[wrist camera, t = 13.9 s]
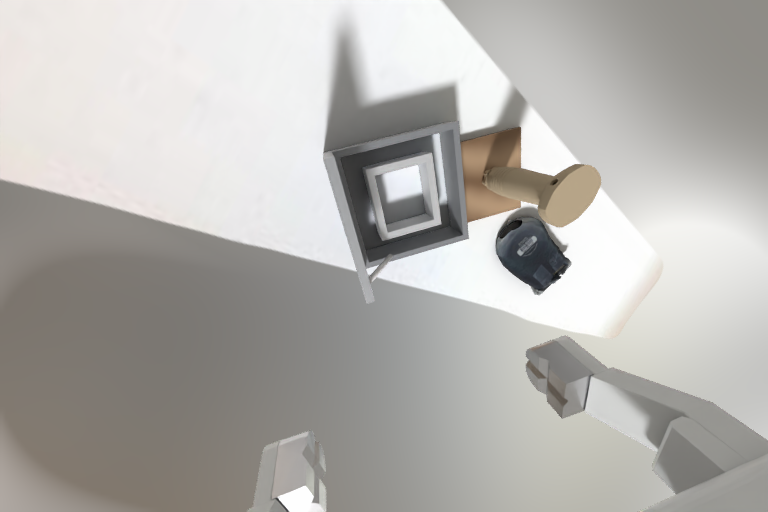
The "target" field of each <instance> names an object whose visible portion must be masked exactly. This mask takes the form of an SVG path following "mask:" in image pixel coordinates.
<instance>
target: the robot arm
mask: <svg viewBox="0 0 768 512" xmlns="http://www.w3.org/2000/svg"><path fill="white" fill-rule="evenodd" d="M526 357H527V358H528V359H529V361H528V362H527V364H526V372H527V375H528V377H529V379H530V381H531V383H532V384H533V385H534V387H535V388H536V389H537V390H538V391H540V392H542V393H544V394H546V397H547V402H548V403H549V404H550V405H551V407H552V408H553V409H554V410H555V411H556V412H557V414H559V416H560V417H561V418H565V417H568V416H571V415H574V414H576V413H579V412H582V411H585V413H587V414H589V415H591V416H593V417H594V418H596V419H598V420H600V421H602V422H604V423H605V424H607V425H609V426H611V427H612V428H614V429H616V430H618V431H620V432H621V433H623V434H625V435H627V436H629V437H630V438H632V439H634V440H636V441H638V442H639V443H641V444H643V445H645V446H646V447H648V448H650V449H652V450H654V451H655V452H657V454H656V457H655V459H654V461H653V463H652V469H653V471H654V472H655V474H656V475H658V477H659V478H660V479H661V480H662V481H663V482H664V483H665V484H666V485H667V486H668V487H669V488H670V489H671V490H672V491H673V492H674V493H675V494H676V495H674V496H672V497H670V498H667V499H665V500H663V501H661V502H659V503H657V504H654V505H652V506H650V507H648V508H645V509H643V510H641V511H639V512H768V440H766V439H765V438H763V437H762V436H760V435H759V434H758V433H756V432H755V431H753V430H752V429H750V428H749V427H747V426H746V425H744V424H743V423H742V422H740V421H739V420H737V419H736V418H734V417H732V416H731V415H730V414H728V413H727V412H725V411H724V410H723V409H721V408H720V407H718V406H717V405H715V404H714V403H712V402H710V401H706V400H704V399H701V398H698V397H695V396H692V395H689V394H687V393H684V392H681V391H678V390H675V389H672V388H670V387H667V386H664V385H661V384H658V383H655V382H653V381H649V380H647V379H644V378H641V377H638V376H635V375H632V374H630V373H627V372H624V371H621V370H618V369H615V368H609V369H608V368H607V367H606V366H605V365H603V364H602V363H601V362H600V361H598V360H597V359H596V358H595V357H593V356H592V355H591V354H590V353H588V352H587V351H586V350H585V349H583V348H582V347H581V346H580V345H578V344H577V343H576V342H575V341H573V340H572V339H571V338H570V337H568V336H561V337H559V338H556V339H554V340H550V341H548V342H545V343H543V344H540V345H537V346H535V347H532V348H530V349H528V350H527V351H526ZM325 473H326V471H325V458H324V453H323V449H322V447H321V445H320V443H319V442H316V441H315V435H314V434H313V432H312V430H309V431H306V432H303V433H300V434H298V435H295V436H292V437H289V438H286V439H284V440H280V441H277V442H275V443H272V444H269V445H267V446H265V448H264V450H263V452H262V457H261V463H260V469H259V474H258V480H257V487H256V492H255V497H254V503H253V508H250V509H248V510H247V512H326V488H325V486H324V485H323V483H322V482H321V481H322V479H323V477H324V475H325Z"/></svg>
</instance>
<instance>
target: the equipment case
mask: <svg viewBox="0 0 768 512" xmlns="http://www.w3.org/2000/svg"><path fill="white" fill-rule="evenodd" d="M436 133H439V134H440V142H441V151H442V159H443V168H444V177H445V185H446V194H447V202H448V211H449V219H450V226H449V227H445V228H442V229H438V230H435V231H432V232H428V233H425V234H421V235H418V236H414V237H411V238H407V239H404V240H400V241H397V242H393V243H390V244H386V245H383V246H379V247H376V248H372V249H369V250H365V246H364V243H363V239H362V235H361V232H360V228H359V224H358V221H357V217H356V213H355V210H354V206H353V202H352V199H351V195H350V191H349V188H348V184H347V181H346V177H345V173H344V170H343V166H342V162H341V159H340V158H341V157H345V156H349V155H353V154H357V153H361V152H365V151H369V150H373V149H377V148H381V147H385V146H389V145H393V144H397V143H401V142H405V141H409V140H413V139H416V138H420V137H424V136H428V135H432V134H436ZM323 160H324V163H325V167H326V170H327V173H328V177H329V180H330V183H331V187H332V190H333V193H334V197H335V200H336V203H337V207H338V210H339V213H340V217H341V220H342V223H343V226H344V230H345V233H346V236H347V240H348V243H349V246H350V250H351V253H352V256H353V260H354V263H355V266H356V270H357V273H358V276H359V280H360V283H361V286H362V290H363V293H364V296H365V299H366V303H367V304H368V303H371V302H374V301H375V299H374V295H373V292H372V288H371V285H370V284H371V283H372V281H373V280H374V279H375V278H376V277H377V276H378V274H379V273H380V272H381V271H382V270H383V268H384V267H385V266H386V265H387V264H388V262H390V261H394V260H397V259H401V258H404V257H407V256H411V255H414V254H418V253H421V252H424V251H428V250H431V249H435V248H438V247H441V246H445V245H448V244H452V243H455V242H459V241H462V240H465V239H469V237H468V225H467V213H466V202H465V190H464V179H463V167H462V156H461V144H460V133H459V121H453V122H445V123H440V124H436V125H432V126H428V127H424V128H420V129H416V130H412V131H408V132H404V133H400V134H396V135H392V136H388V137H384V138H380V139H376V140H372V141H368V142H364V143H360V144H356V145H352V146H348V147H344V148H340V149H336V150H332V151H328V152H324V153H323ZM414 165H418V166H419V173H420V179H421V185H422V192H423V198H424V205H425V211H426V214H422V215H419V216H415V217H411V218H408V219H404V220H401V221H397V222H394V223H390V224H386V223H385V219H384V214H383V210H382V205H381V201H380V197H379V192H378V188H377V183H376V179H375V176H376V175H380V174H384V173H388V172H392V171H395V170H399V169H403V168H407V167H411V166H414ZM362 170H363V174H364V178H365V182H366V186H367V190H368V194H369V198H370V203H371V207H372V211H373V215H374V219H375V223H376V227H377V231H378V234H379V236H380V238H381V239H382V241H384V240H388V239H391V238H395V237H398V236H402V235H405V234H409V233H412V232H416V231H419V230H423V229H426V228H430V227H433V226H437V225H440V224H441V217H440V209H439V201H438V194H437V186H436V178H435V171H434V163H433V156H432V153H431V152H419V153H415V154H411V155H408V156H404V157H400V158H396V159H392V160H388V161H384V162H380V163H376V164H373V165H369V166H365V167H362ZM377 265H379V266H378V267H377V269H376V270H375V271H374V272H373V273H372V274H371V275H370V277H369V278H368V274H367V271H366V269H367V268H370V267H373V266H377Z"/></svg>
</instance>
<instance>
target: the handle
mask: <svg viewBox="0 0 768 512" xmlns="http://www.w3.org/2000/svg"><path fill="white" fill-rule="evenodd" d="M482 184H483V185H485V186H486V187H487V189H489V190H491V191H493V192H494V193H496V194H498V195H501V196H503V197H506V198H509V199H514V200H519V201H523V202H528V203H532V204H536V205H538V213H539V215H540V217H541V218H542V219H543V220H544V221H545V222H546V223H548V224H551V225H553V226H556V227H564V226H566V225H567V224H569V223H571V222H573V221H574V220H576V219H577V218H578V217H579V216H580V215H581V214H582V213H583V212H584V211H585V210H586V209H587V208H588V207H589V206H590V204H591V203H592V202H593V200H594V198H595V196H596V194H597V192H598V190H599V188H600V185H601V177H600V175H599V173H598V171H597V170H596V169H595V168H594V167H592V166H590V165H582V164H575V165H572V166H570V167H568V168H567V169H565V170H563V171H561V172H560V173H558V174H557V175H555V176H551V175H546V174H542V173H538V172H534V171H530V170H526V169H522V168H517V167H493V168H492V169H490V170H486V171H485V172H484V178H483V181H482Z"/></svg>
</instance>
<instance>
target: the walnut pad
mask: <svg viewBox="0 0 768 512" xmlns="http://www.w3.org/2000/svg"><path fill="white" fill-rule="evenodd" d="M460 144H461V156H462V167H463V179H464V190H465V202H466V213H467V223H468V222H471V221H475V220H478V219H482V218H485V217H489V216H492V215H496V214H499V213H502V212H506V211H509V210H513V209H516V208H520V207H521V201H519V200H514V199H509V198H506V197H503V196H501V195H498V194H496V193H494V192H493V191H491V190H489V189H487V187H486V186H485V185H483V184H482V181H483V178H484V172H485V171H486V170H490V169H492V168H493V167H517V168H521V127H516V128H513V129H509V130H505V131H501V132H497V133H493V134H489V135H485V136H481V137H478V138H474V139H470V140H466V141H462V142H460Z"/></svg>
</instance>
